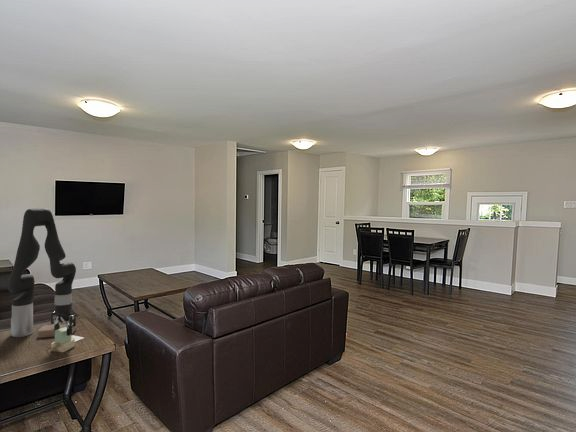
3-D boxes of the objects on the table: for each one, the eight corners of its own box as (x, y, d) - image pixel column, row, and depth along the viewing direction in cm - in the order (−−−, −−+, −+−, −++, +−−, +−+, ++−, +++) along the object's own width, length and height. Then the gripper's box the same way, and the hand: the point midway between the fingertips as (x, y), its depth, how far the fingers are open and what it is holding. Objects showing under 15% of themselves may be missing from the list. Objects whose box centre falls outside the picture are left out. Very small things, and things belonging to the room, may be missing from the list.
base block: (51, 351, 167) (51, 343, 167) (62, 345, 174) (62, 337, 174) (63, 352, 166) (63, 344, 166) (74, 346, 173) (74, 339, 173)
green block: (54, 342, 168) (54, 330, 168) (64, 338, 173) (64, 327, 173) (61, 343, 167) (61, 332, 166) (71, 340, 171) (71, 328, 171)
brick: (36, 338, 181) (36, 329, 181) (43, 332, 189) (43, 324, 189) (71, 336, 186) (71, 327, 186) (76, 330, 194) (76, 322, 194)
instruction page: (56, 341, 177) (56, 340, 177) (72, 335, 186) (72, 334, 186) (69, 344, 175) (69, 343, 175) (84, 338, 183) (84, 337, 183)
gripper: (45, 302, 168) (45, 334, 168) (66, 306, 163) (66, 338, 164) (60, 298, 175) (60, 329, 175) (80, 302, 170) (80, 333, 171)
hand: (63, 333), depth 170 cm, fingers open, 8 cm apart
